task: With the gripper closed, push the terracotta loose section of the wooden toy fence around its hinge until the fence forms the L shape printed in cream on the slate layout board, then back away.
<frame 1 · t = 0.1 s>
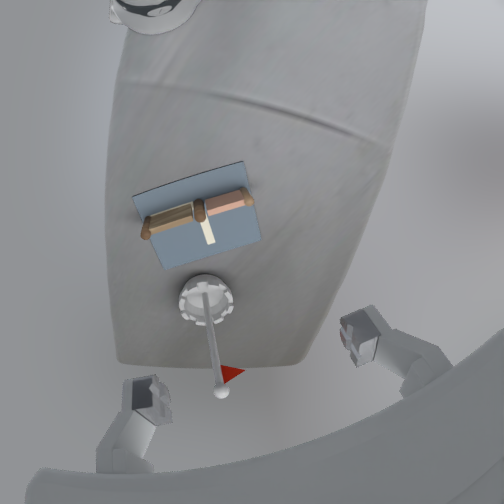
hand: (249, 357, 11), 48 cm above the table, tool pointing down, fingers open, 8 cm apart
fence section: (228, 201, 54), point 4 cm above the table, hinge at 0.0°
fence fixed: (198, 203, 57), resting on layout board
flag stand: (204, 291, 70), on the table
layout board: (199, 218, 59), on the table
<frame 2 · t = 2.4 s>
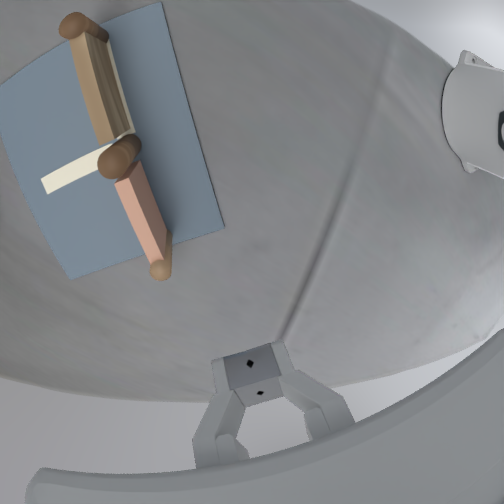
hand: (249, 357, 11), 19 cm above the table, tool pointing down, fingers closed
fence section: (147, 218, 22), point 4 cm above the table, hinge at 0.0°
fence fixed: (130, 145, 22), resting on layout board
layout board: (94, 152, 22), on the table
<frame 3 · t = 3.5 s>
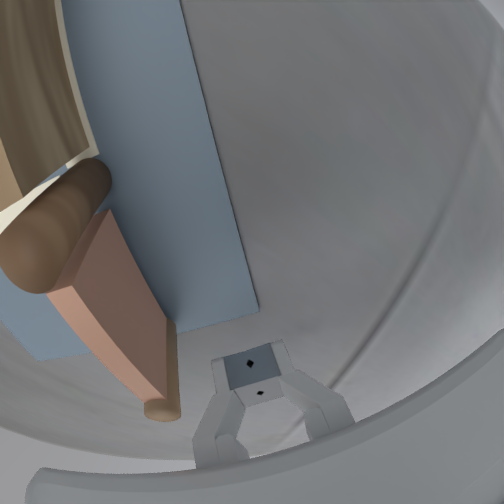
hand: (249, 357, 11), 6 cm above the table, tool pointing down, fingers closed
fence section: (129, 325, 12), point 4 cm above the table, hinge at 0.0°
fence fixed: (92, 177, 11), resting on layout board
layout board: (34, 190, 11), on the table
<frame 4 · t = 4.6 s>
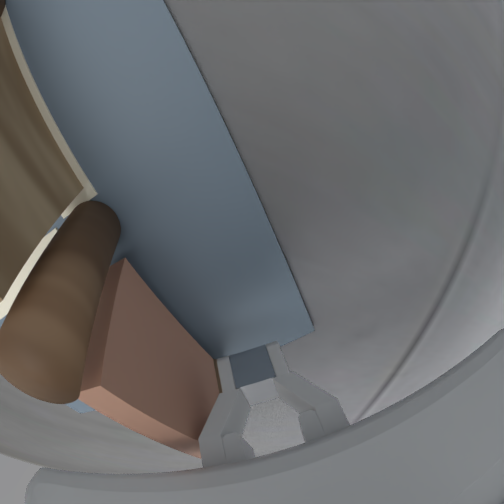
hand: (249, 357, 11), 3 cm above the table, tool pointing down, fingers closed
fence section: (176, 386, 10), point 4 cm above the table, hinge at 0.5°, touching gripper
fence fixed: (96, 223, 10), resting on layout board
layout board: (33, 248, 9), on the table
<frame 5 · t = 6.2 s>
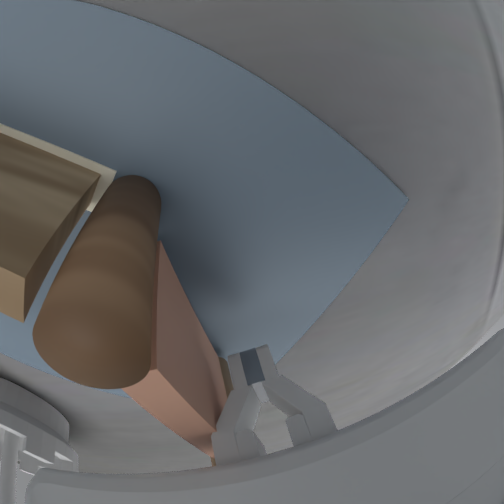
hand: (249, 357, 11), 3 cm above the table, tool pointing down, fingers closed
fence section: (193, 379, 10), point 4 cm above the table, hinge at 45.3°, touching gripper
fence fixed: (133, 200, 10), resting on layout board
flag stand: (17, 406, 15), on the table
layout board: (90, 265, 11), on the table
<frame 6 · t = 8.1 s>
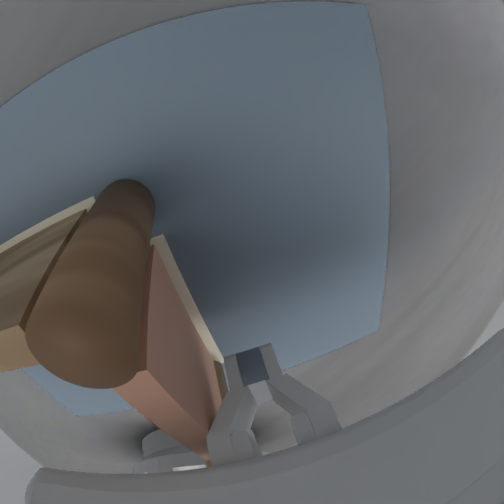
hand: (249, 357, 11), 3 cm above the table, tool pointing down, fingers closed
fence section: (187, 381, 10), point 4 cm above the table, hinge at 90.7°, touching gripper
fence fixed: (127, 204, 10), resting on layout board
flag stand: (198, 442, 22), on the table
layout board: (146, 281, 12), on the table
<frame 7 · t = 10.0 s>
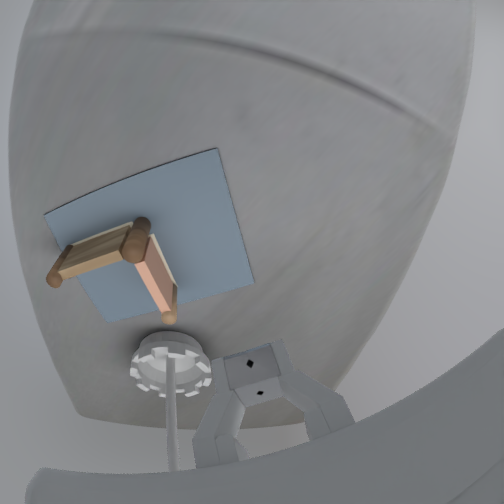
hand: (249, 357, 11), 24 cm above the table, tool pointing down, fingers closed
fence section: (158, 281, 32), point 4 cm above the table, hinge at 89.4°
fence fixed: (142, 223, 32), resting on layout board
flag stand: (170, 352, 44), on the table
layout board: (148, 249, 34), on the table
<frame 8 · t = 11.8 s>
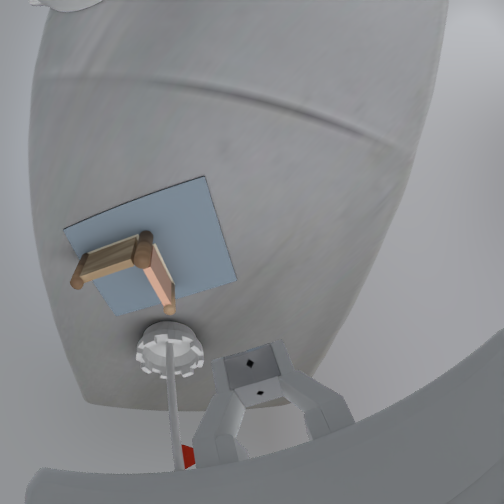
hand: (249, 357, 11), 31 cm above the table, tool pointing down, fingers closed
fence section: (160, 281, 41), point 4 cm above the table, hinge at 89.4°
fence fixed: (146, 235, 40), resting on layout board
flag stand: (169, 339, 53), on the table
layout board: (150, 255, 42), on the table
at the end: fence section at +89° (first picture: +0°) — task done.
